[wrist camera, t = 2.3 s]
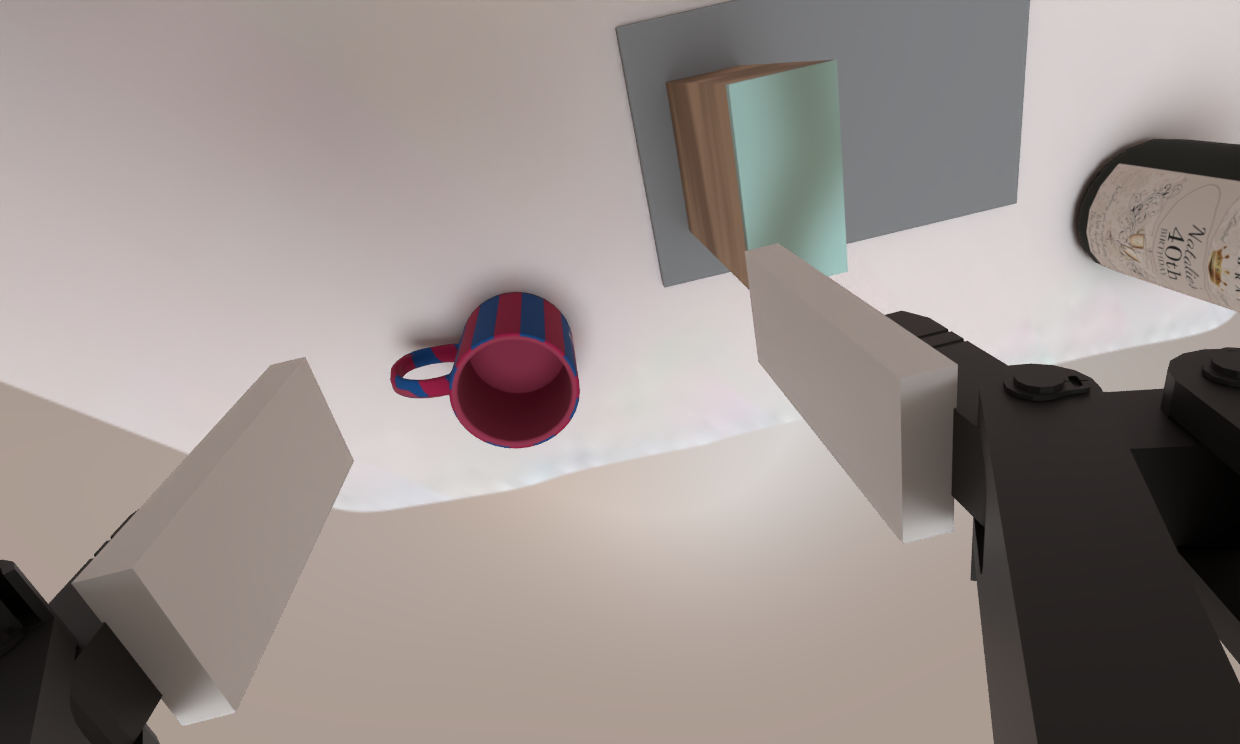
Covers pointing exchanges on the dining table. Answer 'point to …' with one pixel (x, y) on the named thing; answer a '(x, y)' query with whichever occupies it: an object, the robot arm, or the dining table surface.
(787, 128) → the block
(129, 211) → the dining table surface
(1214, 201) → the wine bottle
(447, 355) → the mug
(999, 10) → the mat
